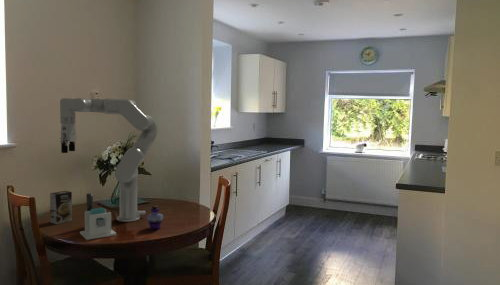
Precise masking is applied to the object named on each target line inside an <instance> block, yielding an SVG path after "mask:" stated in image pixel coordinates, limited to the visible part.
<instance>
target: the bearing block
mask: <svg viewBox="0 0 500 285" xmlns="http://www.w3.org/2000/svg"><path fill="white" fill-rule="evenodd" d="M104 209H105V213H101V214H93V215H91V211H87V210H85V211H84V230H81V231H79V234H80V235H81V236H82V237H83V238H84V239H85V240H86V241H89V240H94V239H95V240H96V239H99V238H105V237H106V238H108V237H111V236H117V232H116V231H115V230H113V229H112V212H107V209H106V208H104ZM103 217H104V218H103ZM96 218H103V219H104V222H105V225H104V226H97V225H96Z"/></svg>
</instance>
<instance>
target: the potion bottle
mask: <svg viewBox="0 0 500 285" xmlns="http://www.w3.org/2000/svg"><path fill="white" fill-rule="evenodd" d="M150 212H151V213H149V214H148V215H146V218H147V222H148V226H149V230H150V231H158V230H161V225H162V222H163V219H164V214H162V213H159V212H160V208H159V205H152V206H151V208H150Z"/></svg>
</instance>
